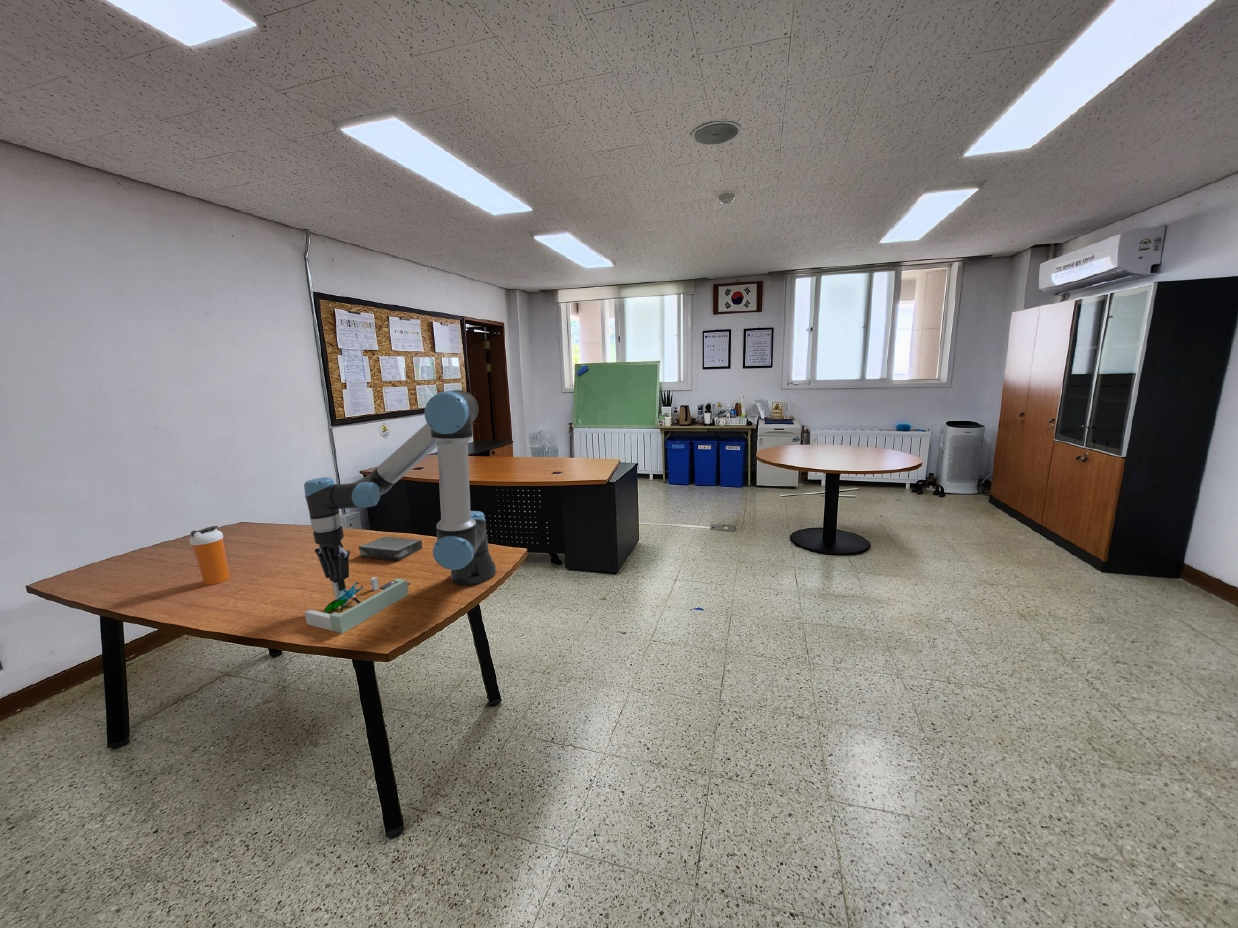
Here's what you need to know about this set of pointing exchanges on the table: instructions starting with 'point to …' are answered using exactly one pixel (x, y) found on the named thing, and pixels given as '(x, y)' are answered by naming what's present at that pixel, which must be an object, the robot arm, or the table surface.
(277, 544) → the table surface
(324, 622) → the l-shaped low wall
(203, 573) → the shaker bottle
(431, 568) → the table surface
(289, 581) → the table surface
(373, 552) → the stone block
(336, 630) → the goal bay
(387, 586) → the trap mat
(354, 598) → the stick construction toy
